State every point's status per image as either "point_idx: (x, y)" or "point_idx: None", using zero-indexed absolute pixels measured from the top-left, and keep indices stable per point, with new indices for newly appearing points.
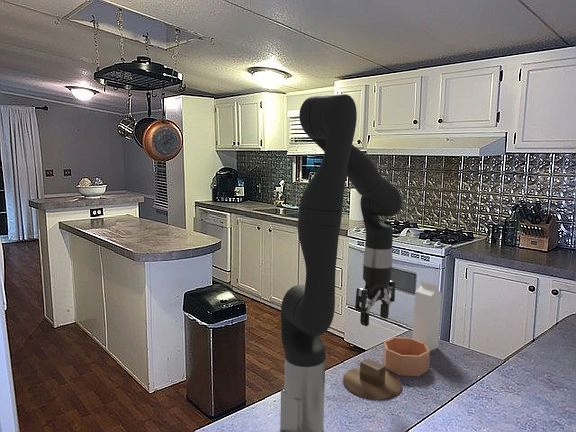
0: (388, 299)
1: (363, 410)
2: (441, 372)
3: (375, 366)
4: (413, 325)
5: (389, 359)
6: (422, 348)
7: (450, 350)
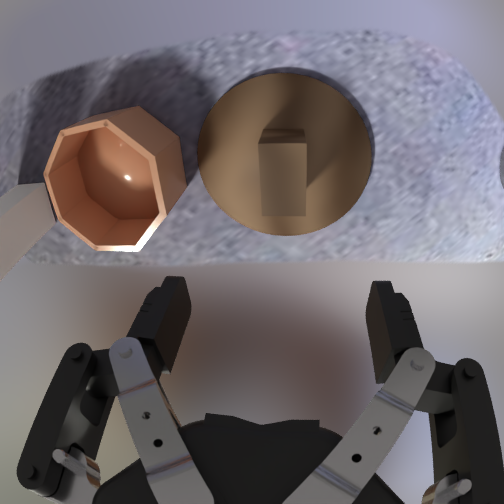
0: (128, 383)
1: (413, 95)
2: (76, 92)
3: (291, 164)
4: (24, 253)
5: (174, 188)
6: (57, 171)
7: (4, 162)
